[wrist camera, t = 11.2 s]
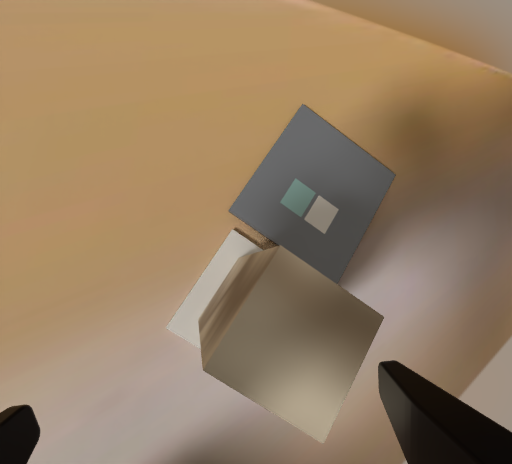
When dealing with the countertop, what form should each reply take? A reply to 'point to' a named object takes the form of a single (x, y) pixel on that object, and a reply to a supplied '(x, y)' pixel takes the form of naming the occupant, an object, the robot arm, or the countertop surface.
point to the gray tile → (314, 194)
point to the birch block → (286, 338)
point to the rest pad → (209, 286)
